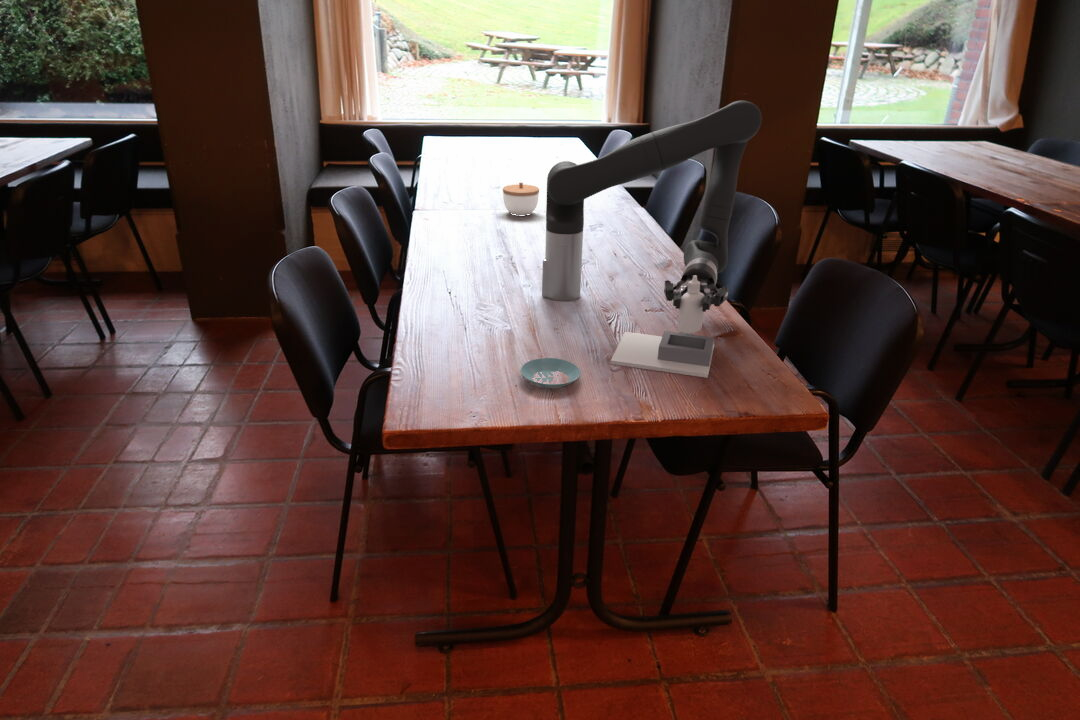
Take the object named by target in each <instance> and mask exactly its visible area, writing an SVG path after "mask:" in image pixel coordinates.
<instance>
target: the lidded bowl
mask: <svg viewBox="0 0 1080 720" xmlns="http://www.w3.org/2000/svg"><path fill="white" fill-rule="evenodd" d="M539 193H540V188H539V187H537V186H535V185H531V184H524V182H519V183H518V184H509V185H505V186H504V187H503V188H502V195H503V196H502V197H503V204H504V206H505V209H506V210H507V212H509V214H511V213H512V214H516V215H527V214H531V215H532V214H533V212H534V211H535V210H536V208H537V206H538V203H539Z"/></svg>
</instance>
